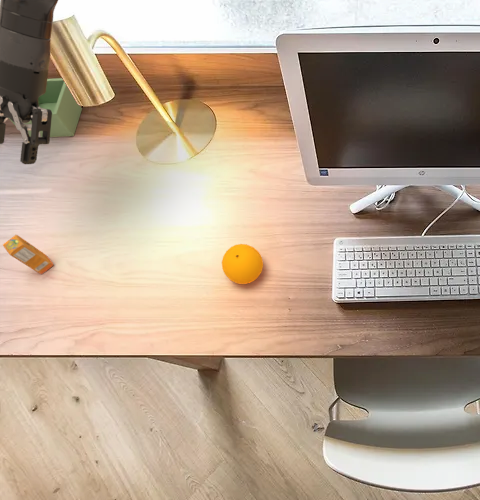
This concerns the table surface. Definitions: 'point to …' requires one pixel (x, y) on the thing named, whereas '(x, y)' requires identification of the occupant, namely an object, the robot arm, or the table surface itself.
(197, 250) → the table surface
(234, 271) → the orange fruit
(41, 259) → the supplement box
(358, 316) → the table surface
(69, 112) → the bin
